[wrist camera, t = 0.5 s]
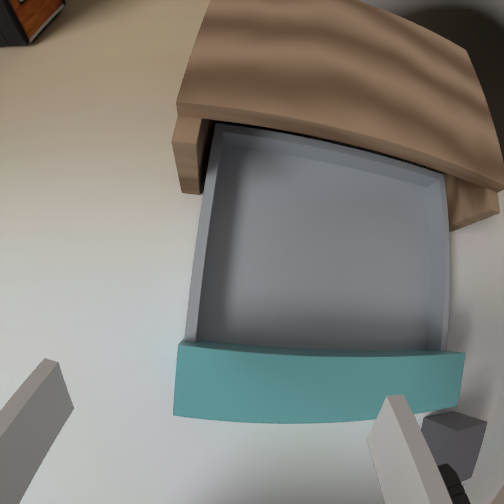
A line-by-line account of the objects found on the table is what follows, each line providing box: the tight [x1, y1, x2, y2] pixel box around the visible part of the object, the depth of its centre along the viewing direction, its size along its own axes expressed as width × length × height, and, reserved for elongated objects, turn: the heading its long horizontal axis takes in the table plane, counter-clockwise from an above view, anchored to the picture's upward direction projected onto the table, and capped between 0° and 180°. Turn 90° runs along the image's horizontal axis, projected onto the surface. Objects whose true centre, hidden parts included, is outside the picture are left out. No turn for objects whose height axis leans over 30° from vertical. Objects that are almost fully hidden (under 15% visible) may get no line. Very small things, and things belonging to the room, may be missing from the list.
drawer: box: [173, 123, 465, 424], centre depth 25 cm, size 23×24×6 cm
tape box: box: [421, 411, 487, 482], centre depth 24 cm, size 7×5×6 cm
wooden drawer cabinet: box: [172, 0, 504, 232], centre depth 26 cm, size 20×28×11 cm
